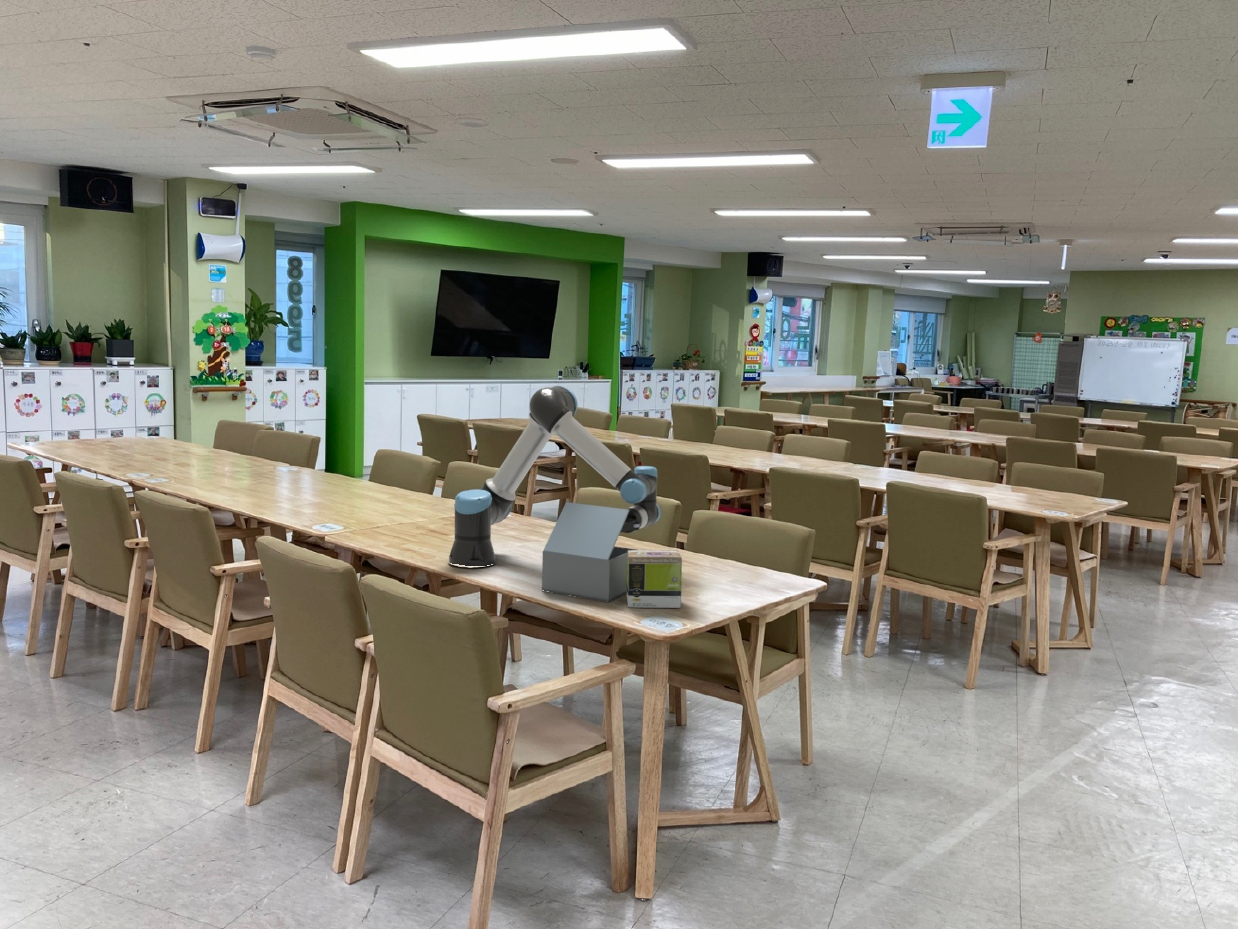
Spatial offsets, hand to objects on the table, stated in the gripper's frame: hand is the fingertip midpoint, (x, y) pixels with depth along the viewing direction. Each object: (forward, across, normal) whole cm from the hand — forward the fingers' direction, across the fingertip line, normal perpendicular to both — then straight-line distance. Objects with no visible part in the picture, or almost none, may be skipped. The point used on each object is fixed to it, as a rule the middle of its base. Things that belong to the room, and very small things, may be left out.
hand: (596, 531), depth 276 cm
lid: (+2, +2, 0) cm, 3 cm away
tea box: (+2, -20, -18) cm, 27 cm away
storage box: (-1, +2, -18) cm, 18 cm away
